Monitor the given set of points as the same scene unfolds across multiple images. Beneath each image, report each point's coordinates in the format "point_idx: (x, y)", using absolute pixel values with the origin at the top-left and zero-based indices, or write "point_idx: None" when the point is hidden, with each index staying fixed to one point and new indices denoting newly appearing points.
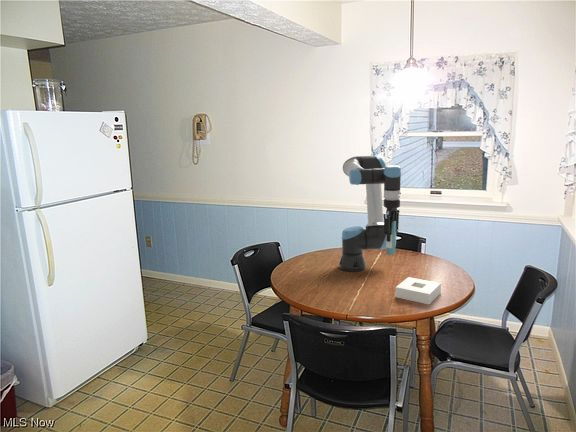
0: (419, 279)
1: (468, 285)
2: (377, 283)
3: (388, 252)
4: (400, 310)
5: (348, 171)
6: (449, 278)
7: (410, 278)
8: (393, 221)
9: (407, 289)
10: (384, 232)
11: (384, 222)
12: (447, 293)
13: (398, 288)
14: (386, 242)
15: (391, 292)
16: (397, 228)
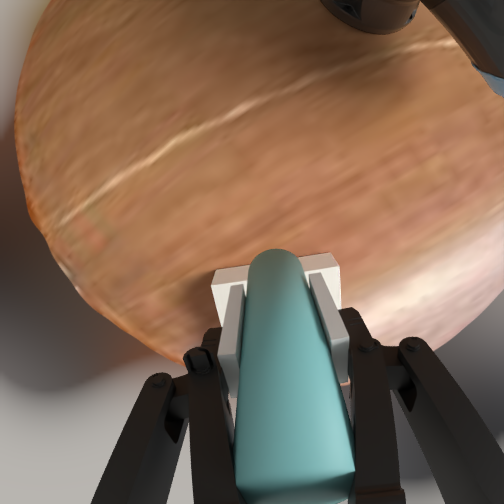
0: (337, 306)
1: None
2: (289, 145)
3: (247, 279)
4: (153, 322)
5: None
6: (451, 302)
7: (329, 279)
8: (314, 501)
9: (221, 323)
10: (145, 390)
11: (102, 488)
12: None
13: (213, 294)
14: (227, 309)
15: (245, 235)
16: (397, 393)
